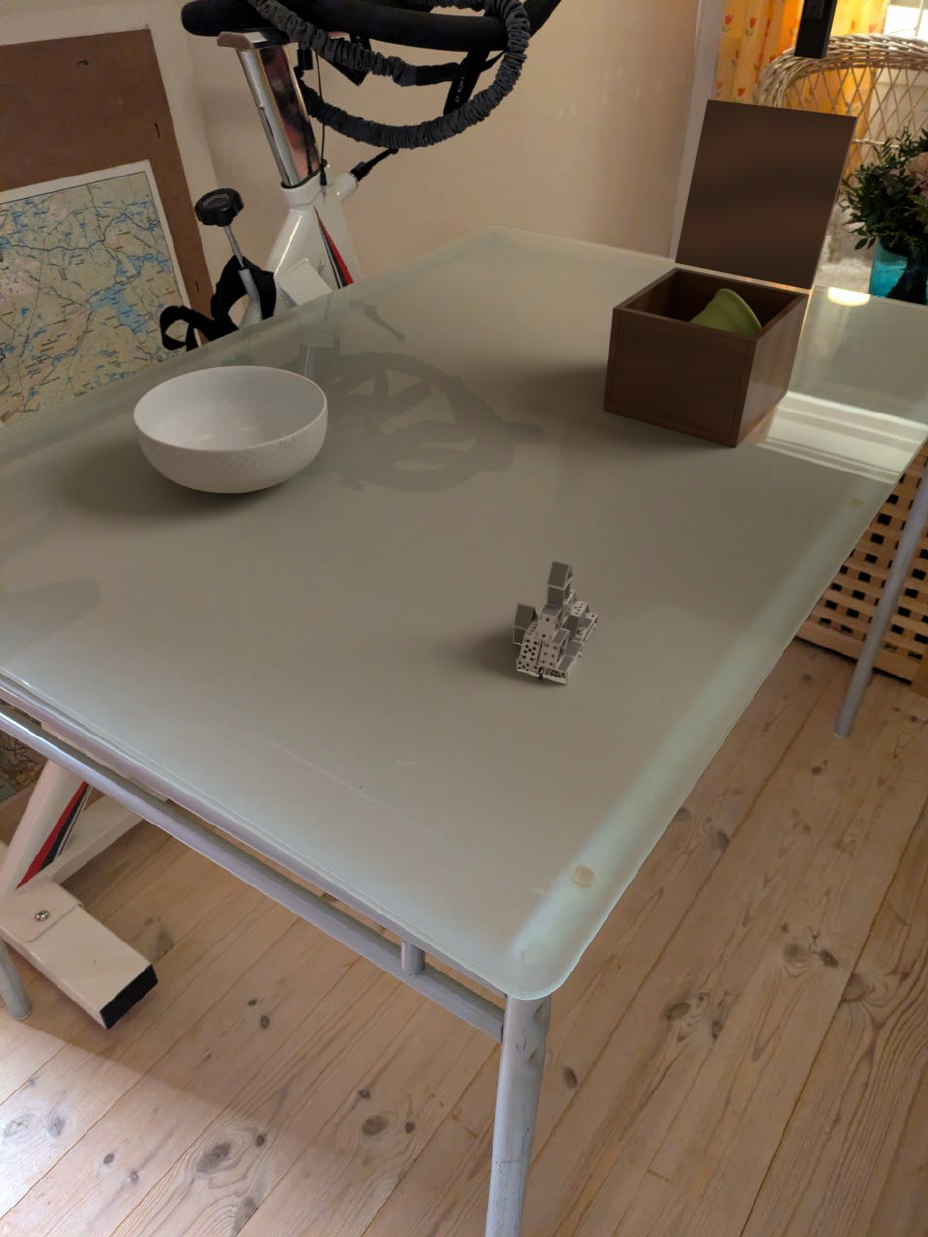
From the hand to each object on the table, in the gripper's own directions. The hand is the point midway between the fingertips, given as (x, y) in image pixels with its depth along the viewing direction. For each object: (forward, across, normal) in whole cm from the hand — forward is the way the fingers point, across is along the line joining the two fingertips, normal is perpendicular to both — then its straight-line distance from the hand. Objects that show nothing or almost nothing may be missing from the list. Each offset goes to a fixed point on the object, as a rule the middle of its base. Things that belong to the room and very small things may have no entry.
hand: (809, 56), depth 93 cm
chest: (+30, +17, 0) cm, 34 cm away
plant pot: (+26, +20, -2) cm, 33 cm away
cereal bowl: (+30, +55, -28) cm, 69 cm away
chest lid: (+11, +9, 0) cm, 14 cm away
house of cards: (+30, +60, +6) cm, 67 cm away
